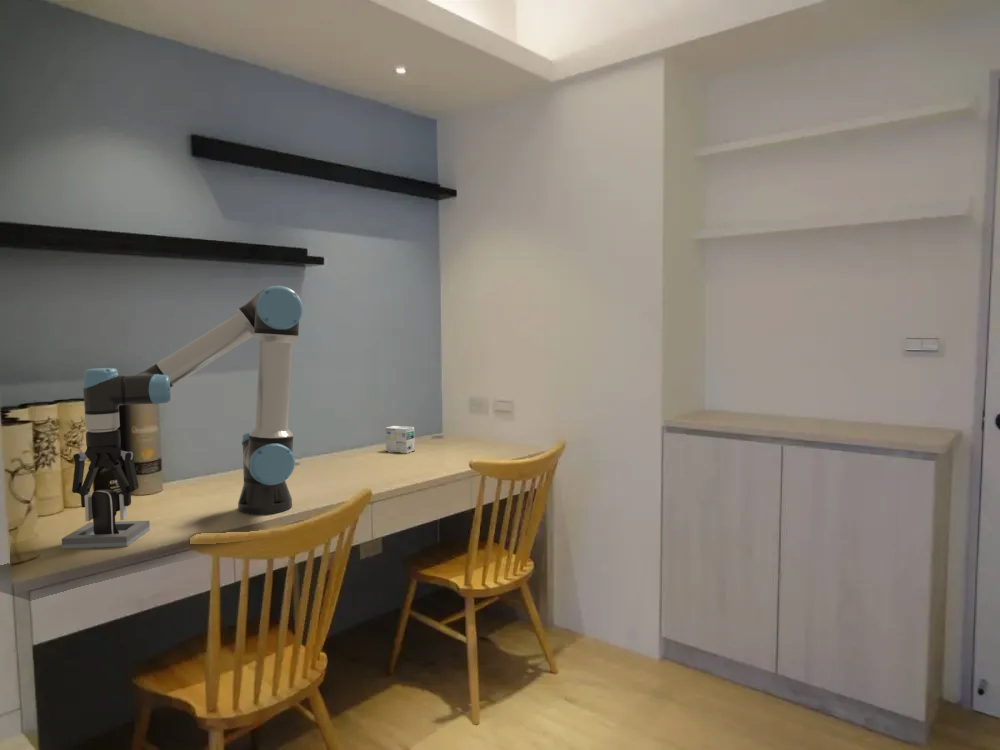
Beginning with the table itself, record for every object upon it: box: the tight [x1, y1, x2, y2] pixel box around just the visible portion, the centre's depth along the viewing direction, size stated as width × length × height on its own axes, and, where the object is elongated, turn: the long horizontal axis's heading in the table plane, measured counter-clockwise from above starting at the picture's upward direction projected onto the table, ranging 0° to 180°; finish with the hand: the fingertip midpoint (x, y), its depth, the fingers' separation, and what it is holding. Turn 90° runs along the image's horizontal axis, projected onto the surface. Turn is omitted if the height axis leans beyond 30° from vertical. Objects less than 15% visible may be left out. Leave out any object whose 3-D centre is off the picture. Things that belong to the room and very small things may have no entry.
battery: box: [91, 489, 120, 535], centre depth 176 cm, size 7×4×11 cm, turn 62°
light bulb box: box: [385, 425, 416, 454], centre depth 297 cm, size 11×7×11 cm, turn 66°
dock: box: [61, 520, 151, 550], centre depth 176 cm, size 15×14×2 cm
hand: (107, 519), depth 176 cm, fingers open, 8 cm apart
